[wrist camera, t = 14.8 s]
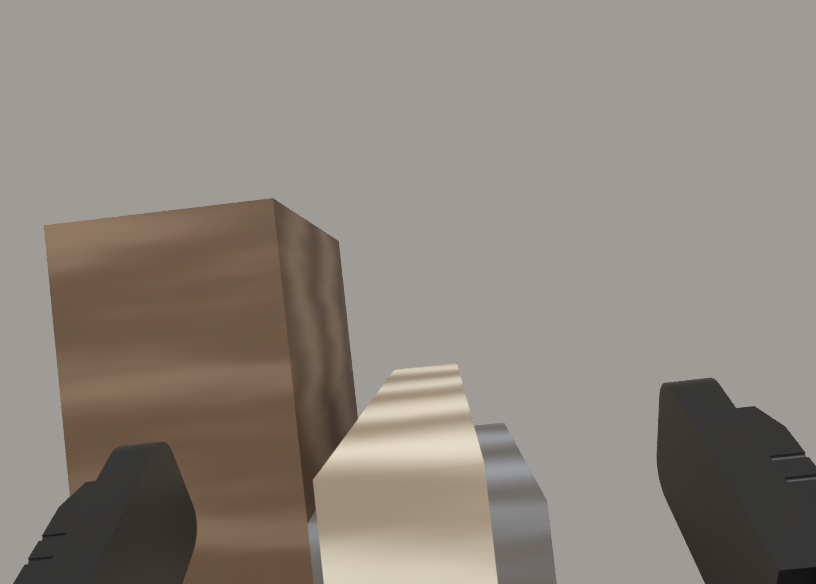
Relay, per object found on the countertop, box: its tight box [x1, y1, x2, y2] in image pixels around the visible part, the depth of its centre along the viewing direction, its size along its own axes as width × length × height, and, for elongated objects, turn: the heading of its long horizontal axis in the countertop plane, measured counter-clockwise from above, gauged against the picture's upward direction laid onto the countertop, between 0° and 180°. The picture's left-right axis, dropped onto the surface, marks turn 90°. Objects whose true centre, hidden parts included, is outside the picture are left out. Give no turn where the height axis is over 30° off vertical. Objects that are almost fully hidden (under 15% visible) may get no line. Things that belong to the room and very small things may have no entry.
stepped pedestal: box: [44, 198, 557, 584], centre depth 30 cm, size 15×16×32 cm
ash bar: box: [313, 363, 498, 584], centre depth 26 cm, size 24×4×4 cm, turn 177°
